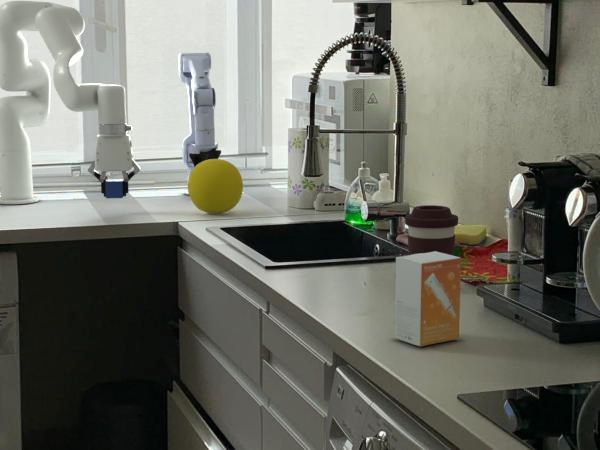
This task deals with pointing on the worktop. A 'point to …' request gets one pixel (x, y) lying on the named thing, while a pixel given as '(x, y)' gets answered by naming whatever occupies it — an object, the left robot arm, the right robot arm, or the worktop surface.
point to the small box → (427, 298)
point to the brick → (114, 188)
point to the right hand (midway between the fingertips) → (205, 175)
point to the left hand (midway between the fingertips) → (115, 195)
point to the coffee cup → (431, 230)
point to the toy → (215, 186)
